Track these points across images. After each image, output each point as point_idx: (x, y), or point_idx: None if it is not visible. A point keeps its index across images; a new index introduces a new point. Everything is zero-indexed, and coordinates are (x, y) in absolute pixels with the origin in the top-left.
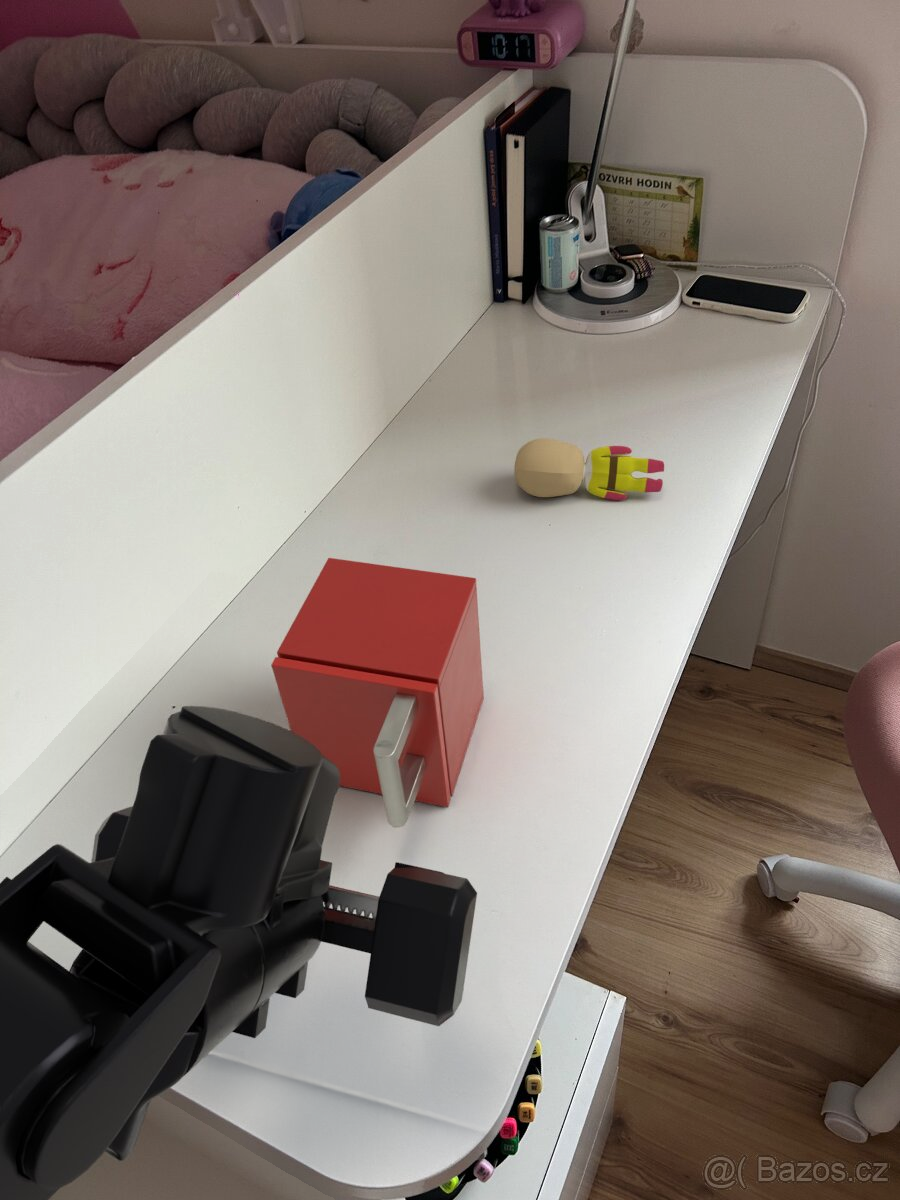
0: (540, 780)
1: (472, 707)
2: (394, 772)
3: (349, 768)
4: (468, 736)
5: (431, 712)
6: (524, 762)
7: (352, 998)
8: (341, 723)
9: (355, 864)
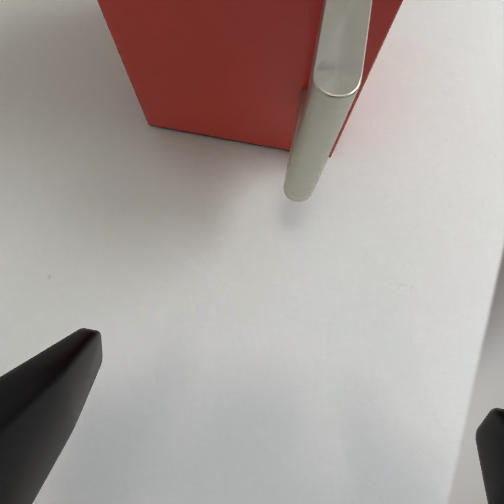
0: (432, 120)
1: None
2: (339, 127)
3: (208, 111)
4: None
5: (390, 2)
6: (410, 98)
7: (250, 404)
8: (203, 36)
9: (227, 233)
